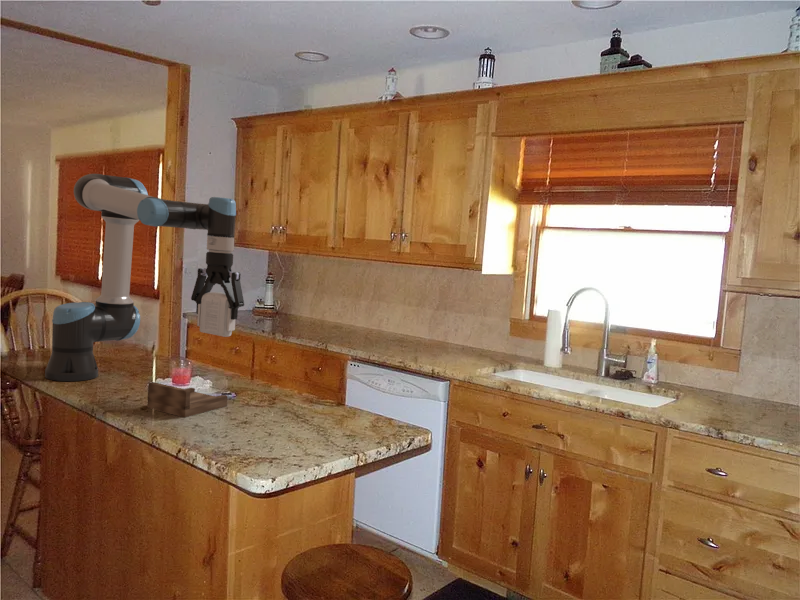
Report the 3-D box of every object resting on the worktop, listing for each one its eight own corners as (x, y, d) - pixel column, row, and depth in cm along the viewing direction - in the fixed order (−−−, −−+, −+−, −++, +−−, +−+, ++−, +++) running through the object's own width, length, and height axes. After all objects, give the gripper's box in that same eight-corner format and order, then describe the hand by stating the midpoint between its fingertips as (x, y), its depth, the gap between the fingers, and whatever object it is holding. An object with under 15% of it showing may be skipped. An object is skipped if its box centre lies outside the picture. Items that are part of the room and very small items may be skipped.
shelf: (147, 407, 177) (148, 382, 177) (190, 397, 192) (191, 374, 191) (185, 417, 171) (186, 391, 171) (226, 406, 185) (228, 382, 185)
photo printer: (234, 336, 188) (236, 293, 187) (223, 337, 184) (226, 294, 183) (207, 331, 193) (209, 290, 192) (197, 332, 189) (199, 290, 188)
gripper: (180, 248, 188) (176, 324, 190) (243, 254, 178) (238, 334, 180) (198, 249, 194) (194, 322, 196) (260, 255, 185) (255, 332, 187)
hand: (215, 328), depth 188 cm, fingers closed on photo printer, 10 cm apart
